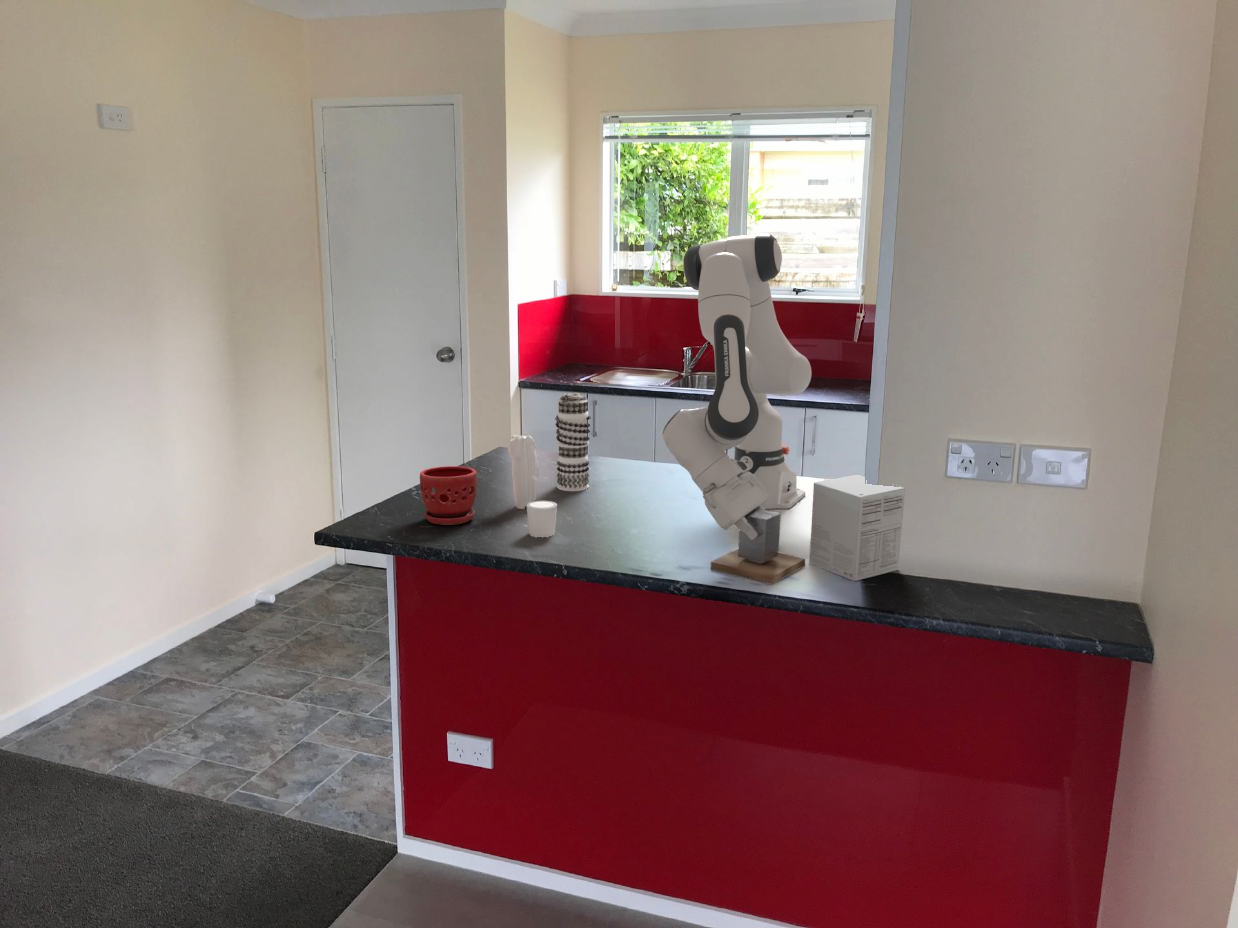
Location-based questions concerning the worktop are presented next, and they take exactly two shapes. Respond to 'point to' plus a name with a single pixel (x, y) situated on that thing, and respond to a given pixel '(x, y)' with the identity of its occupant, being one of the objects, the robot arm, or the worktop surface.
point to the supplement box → (856, 527)
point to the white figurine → (524, 469)
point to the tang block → (758, 566)
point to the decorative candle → (572, 442)
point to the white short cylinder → (541, 518)
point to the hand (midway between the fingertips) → (762, 531)
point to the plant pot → (448, 494)
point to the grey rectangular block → (761, 536)
